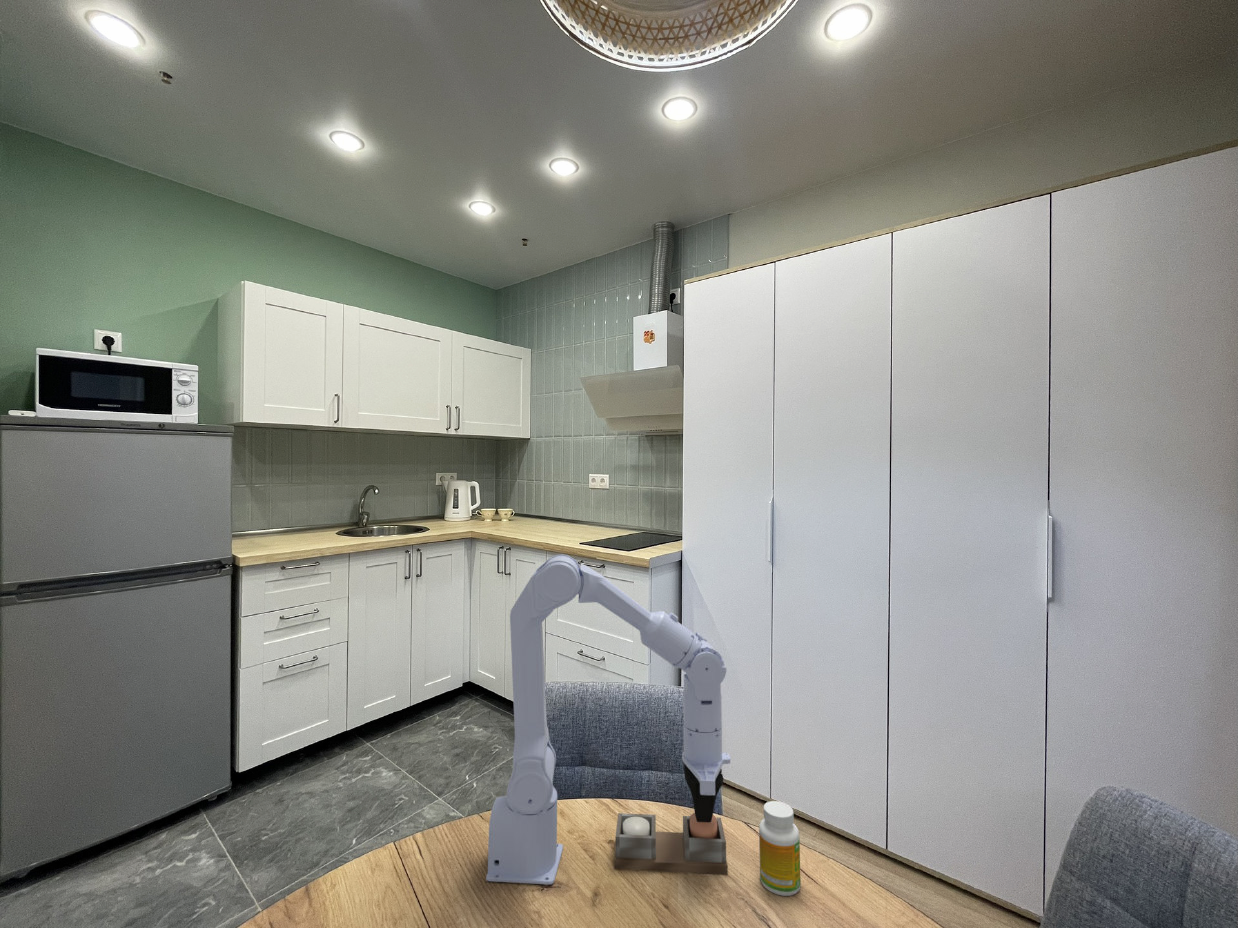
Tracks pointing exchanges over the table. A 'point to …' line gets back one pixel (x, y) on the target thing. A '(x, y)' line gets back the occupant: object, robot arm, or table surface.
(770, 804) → the supplement bottle
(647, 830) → the white plunger
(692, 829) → the tan rounded dome
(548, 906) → the table surface
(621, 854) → the panel
